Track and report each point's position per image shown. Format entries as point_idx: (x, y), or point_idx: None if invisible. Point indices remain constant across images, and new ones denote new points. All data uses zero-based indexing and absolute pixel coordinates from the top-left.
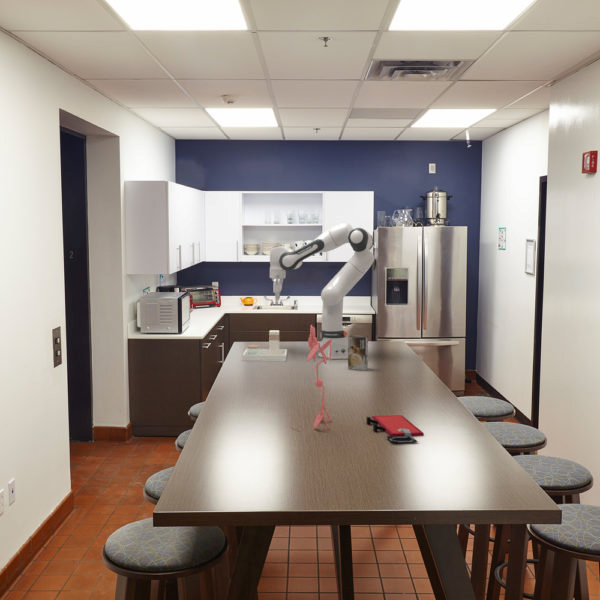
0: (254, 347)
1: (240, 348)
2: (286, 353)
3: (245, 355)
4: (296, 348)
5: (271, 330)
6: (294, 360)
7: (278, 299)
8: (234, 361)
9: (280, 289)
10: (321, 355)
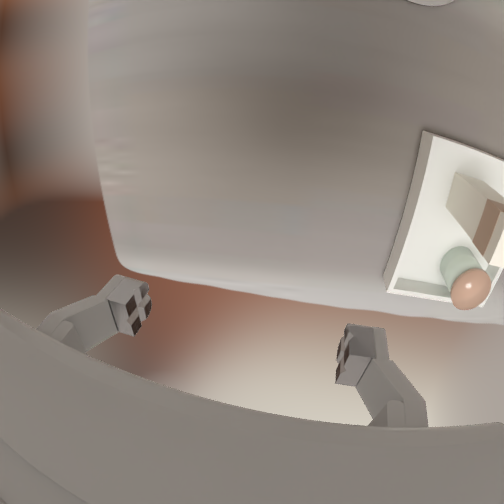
0: (488, 288)
1: (231, 278)
2: (484, 153)
3: (486, 299)
4: (225, 64)
5: (495, 257)
6: (491, 122)
7: (384, 338)
8: (449, 309)
9: (376, 472)
10: (445, 1)
